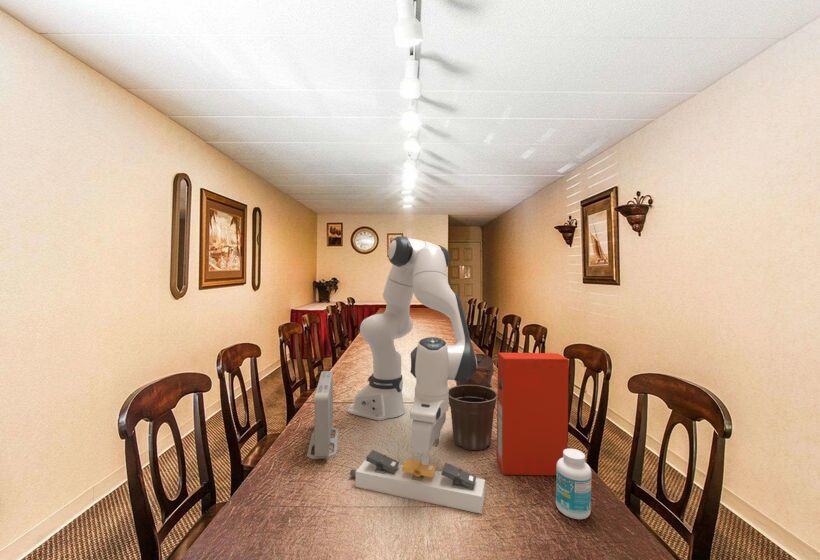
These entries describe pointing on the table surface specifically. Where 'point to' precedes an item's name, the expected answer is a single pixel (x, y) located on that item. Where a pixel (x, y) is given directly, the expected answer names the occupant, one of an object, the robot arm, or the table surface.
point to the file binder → (531, 412)
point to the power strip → (421, 487)
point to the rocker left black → (382, 461)
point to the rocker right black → (459, 476)
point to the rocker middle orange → (419, 468)
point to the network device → (323, 419)
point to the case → (481, 372)
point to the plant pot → (472, 415)
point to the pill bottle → (573, 485)
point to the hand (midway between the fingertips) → (430, 453)
